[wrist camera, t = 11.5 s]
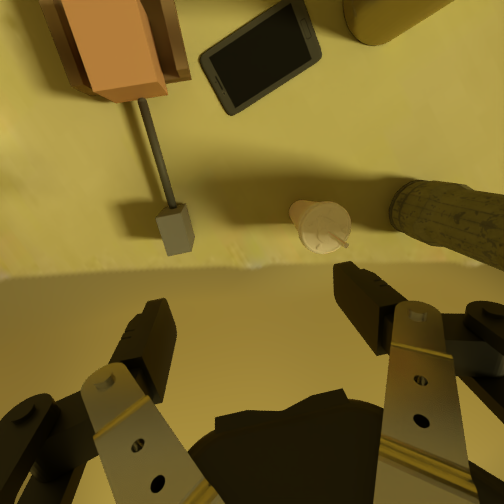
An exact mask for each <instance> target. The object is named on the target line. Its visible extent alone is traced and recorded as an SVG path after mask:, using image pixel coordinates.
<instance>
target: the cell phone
mask: <svg viewBox="0 0 504 504" xmlns="http://www.w3.org/2000/svg"><path fill="white" fill-rule="evenodd" d="M321 57H322V52H321V48H320V45H319V42H318V40H317V37H316V34H315V31H314V28H313V26H312V23H311V20H310V17H309V14H308V12H307V9H306V6H305V3H304V1H303V0H282V1H280V2H279V3H277V4H276V5H274V6H273V7H271V8H270V9H268V10H267V11H265V12H264V13H263V14H261V15H260V16H258V17H257V18H255V19H254V20H252V21H251V22H249V23H248V24H246V25H245V26H243V27H242V28H240V29H239V30H237V31H236V32H234V33H233V34H231V35H230V36H228V37H227V38H225V39H224V40H222V41H221V42H219V43H218V44H216V45H215V46H213V47H212V48H210V49H209V50H207V51H206V52H205V53H204V54H203V55H201V57H200V63H201V66H202V68H203V70H204V72H205V74H206V76H207V78H208V79H209V81H210V83H211V85H212V87H213V89H214V91H215V92H216V94H217V96H218V98H219V100H220V102H221V104H222V105H223V107H224V109H225V111H226V112H227V114H228V115H230V116H233V115H235V114H237V113H239V112H241V111H242V110H244V109H245V108H247V107H249V106H250V105H252V104H253V103H255V102H256V101H258V100H259V99H261V98H263V97H264V96H266V95H267V94H269V93H270V92H272V91H273V90H275V89H276V88H278V87H280V86H281V85H283V84H284V83H286V82H287V81H289V80H290V79H292V78H294V77H295V76H297V75H298V74H300V73H301V72H303V71H304V70H306V69H308V68H309V67H311V66H312V65H314V64H315V63H317V62H318V61H319V60H320V59H321Z"/></svg>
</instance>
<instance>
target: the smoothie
mask: <svg viewBox="0 0 504 504" xmlns="http://www.w3.org/2000/svg"><path fill="white" fill-rule="evenodd" d="M289 216H290V218H291V220H292V222H293V224H294V225H295V227H296V229H297V231H298V234H299V238H300V240H301V242H302V244H303V245H304V246H305V247H306V248H308V249H309V250H310V251H312V252H314V253H318V254H327V253H330V252H333V251H335V250H337V249H338V248H340V247H341V246H343V247H344V248H347V247H348V246H349V244H348V243H347V242H345V241H346V240H347V238H348V236H349V234H350V231H351V219H350V216H349V214H348V212H347V211H346V210H345V209H344V208H343V207H342V206H340V205H339V204H337V203H334V202H331V201H323V202H313V201H307V200H298V201H296V202H294V203H293V204H292V205H291V207H290V210H289Z"/></svg>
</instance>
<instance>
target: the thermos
mask: <svg viewBox="0 0 504 504" xmlns="http://www.w3.org/2000/svg"><path fill="white" fill-rule="evenodd" d="M389 218H390V221H391V224H392V225H393V226H394V228H395V229H397V230H399V231H401V232H403V233H405V234H406V235H408V236H410V237H412V238H414V239H417V240H419V241H421V242H424V243H426V244H428V245H431V246H438V247H446V248H448V249H451V250H453V251H455V252H458V253H460V254H463V255H465V256H468V257H470V258H473V259H475V260H477V261H480V262H482V263H485V264H487V265H490V266H492V267H495V268H497V269H499V270H502V271H504V195H502V194H495V193H488V192H481V191H474V190H473V189H471V188H470V187H468V186H467V185H463V184H456V183H449V182H441V181H424V180H417V181H412V182H410V183H408V184H406V185H405V186H403V187H402V188H401V189H400V190H399V191H398V192H397V193H396V195H395V196H394V198H393V199H392V202H391V205H390V208H389Z"/></svg>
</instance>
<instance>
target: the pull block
mask: <svg viewBox="0 0 504 504" xmlns="http://www.w3.org/2000/svg"><path fill="white" fill-rule="evenodd" d="M61 2H62V4H63V7H64V10H65V13H66V16H67V19H68V21H69V24H70V27H71V30H72V33H73V36H74V38H75V41H76V44H77V47H78V50H79V53H80V55H81V58H82V61H83V64H84V67H85V70H86V72H87V75H88V78H89V81H90V84H91V87H92V89H93V92H95V93H97V94H99V95H101V96H103V97H105V98H107V99H109V100H111V101H113V102H115V103H121V102H127V101H133V100H138V105H139V108H140V111H141V115H142V118H143V121H144V125H145V128H146V131H147V135H148V138H149V142H150V145H151V148H152V152H153V155H154V158H155V162H156V165H157V168H158V172H159V175H160V178H161V182H162V185H163V188H164V192H165V195H166V199H167V202H168V205H169V207H166V208H164V209H163V210H162V211H161V212H160V213H159V215H158V216H157V217H156V218H155V219H156V222H157V225H158V228H159V231H160V234H161V237H162V240H163V243H164V246H165V249H166V252H167V255H168V256H172V255H177V254H182V253H186V252H191V251H192V247H193V243H194V238H195V236H194V232H193V228H192V225H191V221H190V217H189V214H188V210H187V206H186V204H182V205H176V202H175V198H174V195H173V191H172V188H171V184H170V181H169V177H168V174H167V170H166V167H165V163H164V160H163V156H162V153H161V149H160V146H159V142H158V139H157V135H156V132H155V128H154V125H153V121H152V118H151V114H150V111H149V107H148V104H147V101H146V98H152V97H158V96H164V95H168V92H167V88H166V84H165V80H164V76H163V72H162V69H161V65H160V61H159V57H158V53H157V49H156V45H155V41H154V37H153V33H152V29H151V25H150V21H149V18H148V16H147V14H146V12H145V10H144V8H143V6H142V4H141V2H140V0H61Z"/></svg>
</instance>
